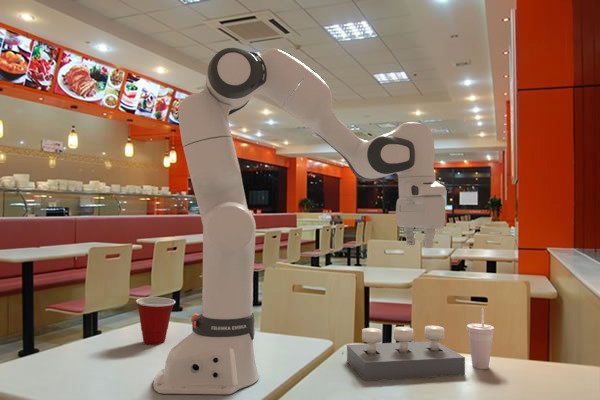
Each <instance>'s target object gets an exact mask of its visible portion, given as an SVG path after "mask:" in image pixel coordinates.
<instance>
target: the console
mask: <svg viewBox="0 0 600 400" xmlns="http://www.w3.org/2000/svg"><path fill="white" fill-rule="evenodd" d="M347 361H348V362H349V363H350V364H351V365H350V364H349V363H348V362H347ZM346 362H347V363H348V364H349V365H350V367H352V368H353V369H354V370H355V372H356V373H357V372H358V373H357V374H358V375H359V376H360V377H361V379H362V380H364V381H365V382H366V381H367V382H368V381H369V382H370V381H386V380H402V379H417V378H436V377H451V376H452V377H453V376H466V357H465V356H464V355H461V354H460V353H458V352H457V351H456V350H455V351H454V350H452V349H451V348H449V347H447V346H445V345H444V344H442V343H440V342H439V351H435V352H431V351H430V340H429V341H410V342H408V353H399V342H385V343H382V342H380V343H376V354H372V355H368V343H364V344H363V343H362V344H347V345H346Z"/></svg>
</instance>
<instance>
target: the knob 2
mask: <svg viewBox="0 0 600 400" xmlns="http://www.w3.org/2000/svg"><path fill="white" fill-rule="evenodd" d="M424 338H425V339H427V340H429V341H430V351H431V352H435V351H439V343H440V341H443V340H445V327H442V326H439V325H425V326H424Z"/></svg>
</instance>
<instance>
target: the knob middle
mask: <svg viewBox="0 0 600 400" xmlns="http://www.w3.org/2000/svg"><path fill="white" fill-rule="evenodd" d="M393 339H394V341H396V342H398V343H399V353H408V342H414V328H412V327H407V326H395V327H394V328H393Z"/></svg>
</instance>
